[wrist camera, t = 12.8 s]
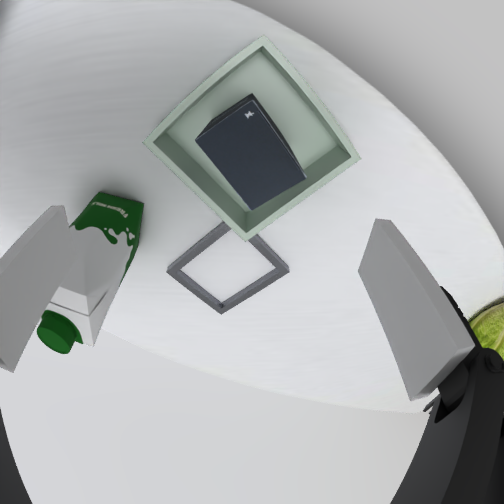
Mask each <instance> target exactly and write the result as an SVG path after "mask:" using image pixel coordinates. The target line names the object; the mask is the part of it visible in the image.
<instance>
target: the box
mask: <svg viewBox="0 0 504 504" xmlns="http://www.w3.org/2000/svg"><path fill="white" fill-rule="evenodd" d="M195 142H196V143H197V144H198V146H199V147H200V148H201V149H202V150H203V152H204V153H205V154H206V155H207V156H208V158H209V159H210V160H211V161H212V162H213V164H214V165H215V166H216V168H217V169H218V170H219V171H220V172H221V174H222V175H223V176H224V177H225V179H226V180H227V181H228V182H229V184H230V185H231V186H232V187H233V189H234V190H235V191H236V192H237V194H238V195H239V196H240V197H241V199H242V200H243V201H244V202H245V204H246V205H247V206H248V208H249V209H250V210H251V211H253V210H254V209H256V208H258V207H259V206H261V205H263V204H264V203H266V202H268V201H269V200H271V199H273V198H274V197H276V196H278V195H279V194H281V193H283V192H284V191H286V190H288V189H289V188H291V187H293V186H294V185H296V184H298V183H300V182H301V181H303V180H305V179H306V178H307V175H306V174H305V173H304V171H303V169H302V167H301V166H300V164H299V162H298V160H297V158H296V157H295V155H294V153H293V151H292V149H291V148H290V146H289V144H288V143H287V141H286V139H285V138H284V136H283V135H282V133H281V132H280V130H279V129H278V127H277V126H276V124H275V123H274V122H273V120H272V119H271V117H270V116H269V115H268V113H267V112H266V111H265V109H264V108H263V106H262V105H261V104H260V102H259V101H258V100H257V98H256V97H255V96H254V94H253V93H251V94H249V95H248V96H246V97H245V98H243V99H242V100H240V101H239V102H237V103H236V104H234V105H233V106H231V107H230V108H228V109H227V110H225V111H224V112H222V113H221V114H219V115H218V116H216V117H215V118H214V119H212V120H211V121H210V122H209V123H208V124H207V126H206V127H205V128H204V129H203V130H202V132H201V133H200V134H199V135H198V136H197V138H196V139H195Z"/></svg>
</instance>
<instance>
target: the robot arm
mask: <svg viewBox="0 0 504 504" xmlns="http://www.w3.org/2000/svg"><path fill="white" fill-rule="evenodd" d="M77 259H78V256H77V253H76V249H75V246H74V243H73V239H72V236H71V232H70V228H69V224H68V221H67V217H66V213H65V208H64V206H51V207H50V208H49V209H48V210H47V211H46V212H44V213H43V214H42V215H41V216H40V217H39V218H38V219H37V220H36V221H35V222H34V223H33V224H32V225H31V226H30V227H29V228H28V229H27V230H26V231H25V232H24V233H23V234H22V235H21V237H20V238H19V239H18V240H17V241H16V242H15V243H14V244H13V245H12V246H11V247H10V249H9V250H8V251H7V252H6V253H5V254H4V255H3V257H2V258H1V259H0V367H1V368H3V369H6V370H8V371H10V372H14V370H15V368H16V365H17V363H18V361H19V359H20V357H21V355H22V353H23V351H24V348H25V346H26V344H27V342H28V340H29V338H30V337H31V335H32V333H33V331H34V329H35V327H36V325H37V323H38V322H39V320H40V318H41V316H42V314H43V313H44V311H45V309H46V307H47V306H48V304H49V302H50V301H51V299H52V297H53V296H54V294H55V292H56V291H57V289H58V287H59V286H60V284H61V283H62V281H63V280H64V278H65V276H66V275H67V273H68V272H69V270H70V269H71V267H72V266H73V264H74V263H75V261H76V260H77ZM358 273H359V275H360V277H361V279H362V281H363V283H364V286H365V288H366V290H367V292H368V294H369V297H370V299H371V301H372V303H373V306H374V308H375V310H376V313H377V315H378V317H379V320H380V322H381V324H382V327H383V329H384V332H385V334H386V336H387V339H388V341H389V344H390V347H391V349H392V352H393V354H394V357H395V360H396V362H397V365H398V368H399V370H400V373H401V376H402V379H403V381H404V384H405V387H406V390H407V393H408V396H409V399H410V401H412V400H416V399H420V398H424V397H427V396H428V395H430V394H431V393H432V392H433V391H434V390H435V389H436V388H437V387H438V390H439V392H440V394H439V395H438V396H437V397H435V398H434V399H433V400H432V401H431V402H430V403H429V404H428V405H427V406H426V407H425V408H424V410H423V411H424V412H426V411H427V410H428V409H429V408H430V407H432V406H433V408H432V411H430V413H429V414H430V417H429V419H428V422H427V425H426V428H425V431H424V433H423V436H422V438H421V441H420V443H419V446H418V448H417V451H416V453H415V455H414V458H413V460H412V462H411V464H410V466H409V469H408V471H407V473H406V475H405V477H404V479H403V481H402V483H401V485H400V487H399V489H398V490H397V492H396V494H395V496H394V498H393V500H392V501H391V503H390V504H504V360H503V358H502V357H501V356H500V354H499V353H498V352H496V351H495V350H494V349H491V348H483V347H482V346H481V344H480V342H479V340H478V338H477V337H476V335H475V333H474V331H473V330H472V328H471V326H470V324H469V323H468V321H467V319H466V318H465V317H463V313H462V311H461V310H460V308H458V305H457V303H456V302H455V300H454V299H453V297H452V296H451V295H450V294H449V293H448V292H447V291H446V290H445V289H444V288H443V287H442V286H439V284H438V283H437V281H436V280H435V279H434V277H433V276H432V274H431V273H430V271H429V270H428V268H427V267H426V266H425V264H424V263H423V262H422V260H421V259H420V257H419V256H418V255H417V253H416V252H415V251H414V249H413V248H412V247H411V245H410V244H409V243H408V241H407V240H406V239H405V238H404V236H403V235H402V234H401V232H400V231H399V230H398V229H397V227H396V226H395V225H394V224H393V223H392V221H391V220H384V219H375V222H374V225H373V228H372V231H371V234H370V237H369V240H368V244H367V247H366V249H365V252H364V255H363V258H362V261H361V264H360V267H359V269H358ZM0 504H32V502H31V500H30V498H29V495H28V493H27V491H26V489H25V486H24V484H23V482H22V479H21V477H20V474H19V471H18V469H17V466H16V463H15V460H14V457H13V454H12V451H11V448H10V445H9V442H8V438H7V434H6V430H5V427H4V423H3V418H2V414H1V409H0Z"/></svg>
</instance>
